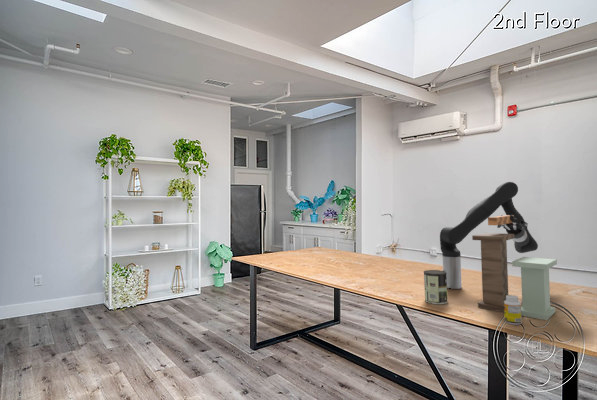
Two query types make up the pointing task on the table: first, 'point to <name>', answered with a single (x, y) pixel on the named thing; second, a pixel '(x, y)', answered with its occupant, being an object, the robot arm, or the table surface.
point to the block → (499, 220)
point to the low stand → (535, 286)
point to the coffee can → (435, 286)
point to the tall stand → (494, 269)
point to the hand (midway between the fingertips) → (506, 216)
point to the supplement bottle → (512, 310)
